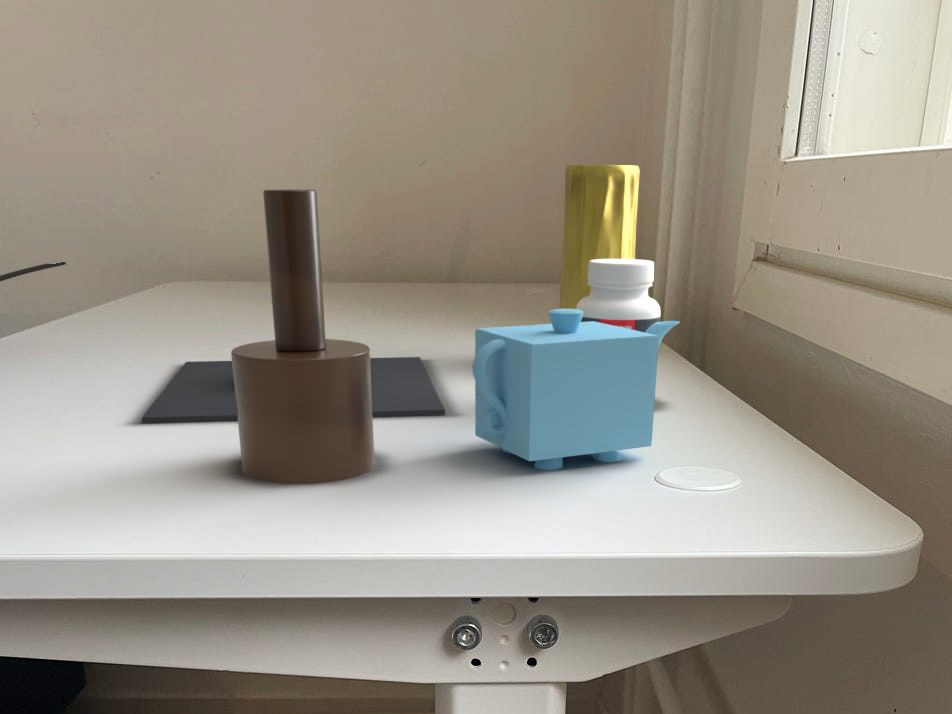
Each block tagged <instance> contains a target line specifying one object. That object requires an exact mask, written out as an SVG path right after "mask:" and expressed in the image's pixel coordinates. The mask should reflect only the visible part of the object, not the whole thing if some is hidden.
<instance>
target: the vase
mask: <svg viewBox="0 0 952 714" xmlns="http://www.w3.org/2000/svg"><path fill="white" fill-rule="evenodd" d="M640 173H641V172H640V166H639V165H637V164H566V166H565V170H564V188H565V189H564V210H563V211H564V212H563V213H564V214H563V215H564V217H563V242H562V243H563V245H562V261H561V273H560V290H559V302H558V303H559V305H558V306H559V307H558V309H576V307H577V304H578V303H579V301H580V300H581V299H583V298H584V297H586V296H589V295H590V292H591V286H590V285H588V266H589V261H590V260H595V259H636V242H637V241H636V240H637V239H636V238H637V222H638V221H637V220H638V206H639V205H638V202H639V184H640Z"/></svg>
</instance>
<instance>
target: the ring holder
mask: <svg viewBox="0 0 952 714" xmlns="http://www.w3.org/2000/svg"><path fill="white" fill-rule="evenodd" d="M262 195H263V207H264V208H263V209H264V220H265V232H266V245H267V246H266V247H267V257H268V258H267V259H268V270H269V282H270V295H271V309H272V321H273V332H274V340H264V341H256V342H250V343H245V344H242V345H238V346H236V347H235V348H232V350H231V351H230V353H231V354H230V355H231V361H232V367H233V378H234V388H235V398H236V408H237V418H238V421H237V427H238V438H239V447H240V448H239V449H240V456H241V457H240V458H241V459H240V460H241V467H242V472H243V474H245V476H247V477H249V478H252V479H254V480H258V481H262V482H267V483H274V484H284V485H285V484H287V485H310V484H326V483H333V482H340V481H344V480H349V479H354V478H357V477H360V476H363V475H365V474H368V473H369V472H371V471H372V470H373V469H374V468H375V465H376V464H375V463H376V462H375V439H374V418H373V413H372V390H371V366H370V358H371V349H370V347H369V346H368V345H367V344H365V343H361V342H357V341H352V340H344V339H335V338H334V339H332V338H326V323H325V307H324V292H323V291H324V289H323V274H322V257H321V242H320V241H321V240H320V239H321V238H320V225H319V208H318V207H319V206H318V192H317V190H316V189H300V188H299V189H296V188H295V189H294V188H293V189H290V188H289V189H264V190H263V191H262Z"/></svg>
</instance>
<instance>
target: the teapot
mask: <svg viewBox="0 0 952 714" xmlns="http://www.w3.org/2000/svg"><path fill="white" fill-rule="evenodd" d="M582 316H583V311H581V310H578V309H559V308H554V309H551V310H549V311H548V317H549V320H550V323H545V324H543V323H542V324H527V325H526V324H525V325H513V326H499V327H498V326H496V327H480V328H476V329H475V331H474V333H475V334H474V338H475V341H474V342H475V343H474V345H475V346H474V349H475V350H474V354H475V355H474V358H473V361H472V369H471V370H472V375H473V379H474V381H475V385H474V388H475V389H474V390H475V391H474V395H475V396H474V397H475V398H474V399H475V400H474V403H475V404H474V409H475V411H474V414H475V415H474V419H475V420H474V422H475V423H474V428H475V429H474V431H475V432H474V433H475V436H476V437H478V438H480V439H482V440H484V441H485V442H489V443H490V444H492V445H494V446H496V447H499V448H501V449H502V452H503V453H505V454H511V455H515V456H517V457H519V458H522V459H523V460H526V461H527V462H534V464H533V467H534V468H536V469H539V470H544V471H545V470H546V471H547V470H548V471H549V470H550V471H552V470H553V471H554V470H559V469H561V468H563V467H564V465H563V464H564V463H563V462H564V460H563V459H564V458H568V457H575V456H576V457H577V456H584V455H592V458H593V460H595V461H598V462H603V463H616V462H619V461H621V460H622V457H621V455H620V453H619V452H618V451H624V450H632V449H641V448H649V447H652V443H653V442H652V441H653V431H654V430H653V428H654V413H655V400H656V388H657V386H656V385H657V373H658V360H659V359H658V357H659V347H660V344H661V343H662V340H663V338H664V337H665V336H666V335H667V333H668V332H669V331H670V330H672V329H673V328H674V327H676V326H677V325H678V324H680V322H681V321H680V320H665V321H663V320H662V321H660V322H656V323H654V324H652V325H651V326H650V327H649V328H648V329H647V330H646V332H645V333H644V332H640V331H636V330H631V329H627V328H622V327H618V326H613V325H608V324H604V323H599V322H595V321H589V322H581V319H582Z"/></svg>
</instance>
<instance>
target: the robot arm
mask: <svg viewBox="0 0 952 714" xmlns="http://www.w3.org/2000/svg"><path fill="white" fill-rule="evenodd" d="M49 263H50V262H47V263H43V264H39V265H34V266H29V267H27V268H26V267H25V268H22V269H18V270H14V271H11V272H8V273H7V272H6V273H4V274H0V282H4V281H7V280H10V279H12V278H16V277H20V276H23V275H28V274H30V273H34V272H38V271H43V270H47V269H51V268H57V267H61V266H66V265H67V264H66V263H65V262H61V263H56V264H49ZM65 264H66V265H65Z"/></svg>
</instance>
